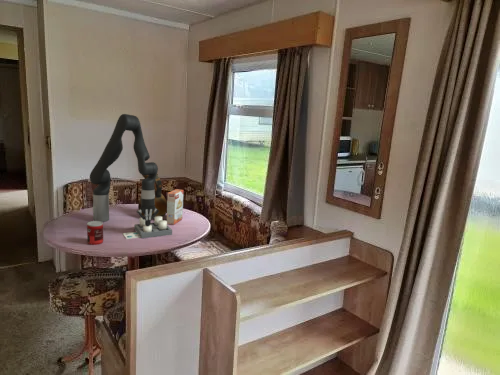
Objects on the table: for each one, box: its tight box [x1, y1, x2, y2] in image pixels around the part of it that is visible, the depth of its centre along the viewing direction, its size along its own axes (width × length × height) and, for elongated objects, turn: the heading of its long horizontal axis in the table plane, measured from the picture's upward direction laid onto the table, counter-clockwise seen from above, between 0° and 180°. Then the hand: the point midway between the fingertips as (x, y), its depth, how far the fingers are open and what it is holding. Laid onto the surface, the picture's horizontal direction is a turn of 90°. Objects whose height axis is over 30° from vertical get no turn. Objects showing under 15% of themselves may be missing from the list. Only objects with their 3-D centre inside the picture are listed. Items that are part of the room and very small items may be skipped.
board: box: [133, 222, 173, 239], centre depth 212 cm, size 18×17×3 cm
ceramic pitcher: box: [137, 173, 167, 217], centre depth 240 cm, size 20×20×30 cm
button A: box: [138, 217, 145, 227], centre depth 213 cm, size 5×5×5 cm
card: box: [122, 231, 142, 240], centre depth 204 cm, size 9×9×1 cm
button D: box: [159, 219, 168, 230], centre depth 210 cm, size 5×5×5 cm
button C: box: [143, 225, 152, 232], centre depth 206 cm, size 5×5×5 cm
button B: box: [153, 216, 163, 225], centre depth 218 cm, size 5×5×5 cm
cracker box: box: [166, 188, 184, 226], centre depth 233 cm, size 14×6×21 cm, turn 168°
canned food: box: [86, 220, 104, 246], centre depth 189 cm, size 8×8×11 cm
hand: (147, 225), depth 205 cm, fingers closed
